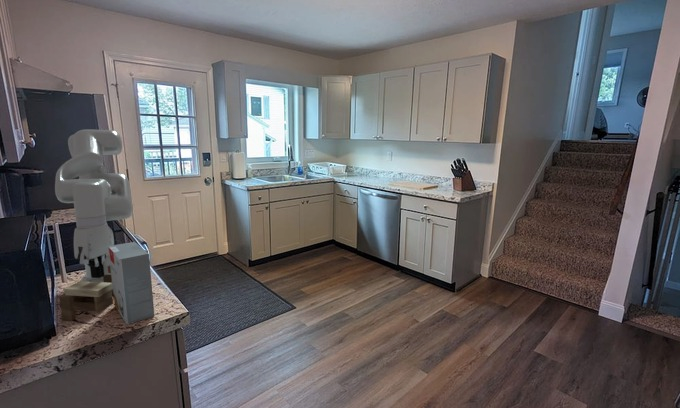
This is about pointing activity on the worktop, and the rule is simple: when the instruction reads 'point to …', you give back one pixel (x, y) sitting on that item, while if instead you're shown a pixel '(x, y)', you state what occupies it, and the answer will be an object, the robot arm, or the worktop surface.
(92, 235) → the robot arm
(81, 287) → the lid
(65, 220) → the worktop surface
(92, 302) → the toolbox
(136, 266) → the hard drive box
